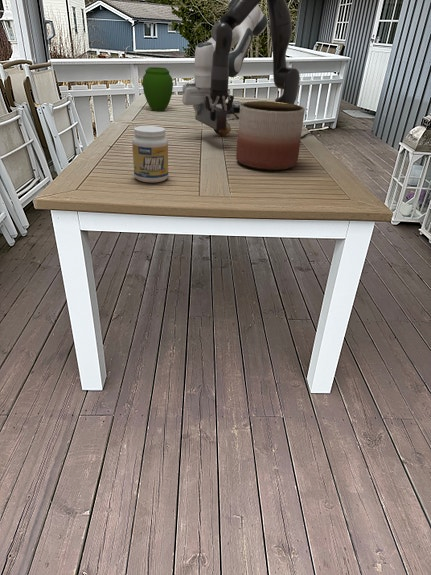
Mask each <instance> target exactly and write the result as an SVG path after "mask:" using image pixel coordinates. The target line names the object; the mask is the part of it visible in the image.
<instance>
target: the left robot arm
mask: <svg viewBox="0 0 431 575" xmlns="http://www.w3.org/2000/svg"><path fill="white" fill-rule="evenodd" d="M235 1H236V0H229V1H228V3H227V8H228V10H229V9H230V7H231V6H232V5H233V4H234V3H235ZM268 23H269V19H268V17H267V16H266V14H264V13H263V11H262V10H261V7H260V6H259V3H258V4H257V6H256V7H255V8H254V9H253V10H252V11H251V13H250V14H249V15H248V16H247V17H246V19H245V20H244V21H243V22H242V23H241V24H240V25H239V26H236V27H235V28H234V29H233V30H232V33H233V37H232V44H231V49H233V48H234V46H235V45H236V46H235V48H234V49H233V50H230V52H229V66H228V67H229V78H235V77H236V76H237V75H238V74H239V73H240V71H241V69H242V66H243V62H244V60H245V59H246V58H245V57H246V56H247V53H248V51H249V49H250V47H251V45H252V43H253V38H254V37H258V36H259V35H261V34H262V33H264V32H265V30H266V28H267V26H268ZM215 46H216V41H214V40H213V38H212V36H211V37H210V38H209V39H208V40H207V41H205V42H200V43H198V44H196V46H195V50H194V51H195V52H194V75H193V77H194V79H193V82H186V83H184V84H183V85H182V98H181V100H182V104H183V105H184V106H192V108H193V111H194V116H195V115H199V111H197V109H196V107H197V105H200V104H205V101H204V95H206V96H207V95H210V92H211V70H212V55H213V51H214V50H215ZM211 102H212V99H211V98H210V100H209V103H210V104H211ZM216 107H219V108H221V109H222V106H221V104H217V106H216ZM226 107H227V106H226ZM232 115H234V117H235V118H236V119H237V120H239V116H238V115H237V114H236V112H234V109H232V108H231V110H228V111H227V117H226V121H231V120H234V117H233V116H232Z"/></svg>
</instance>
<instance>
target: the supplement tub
mask: <svg viewBox="0 0 431 575" xmlns="http://www.w3.org/2000/svg"><path fill="white" fill-rule="evenodd" d="M133 130H134V131H133V134H134V136H133V137H132V140H131V144H132V160H133V176H134V178H135V179H136V180H138V181H139V182H143V183H161V182H164V181H166V180H167V179H168V177H169V141H168V138H167V137H166V128H164V127H162V126H157V125H139V126H136V127H134V128H133Z"/></svg>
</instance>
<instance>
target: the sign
mask: <svg viewBox="0 0 431 575" xmlns="http://www.w3.org/2000/svg"><path fill="white" fill-rule="evenodd" d="M227 103H228V101H227V102H226V106H227ZM241 103H244V101H243V102H242V101H239V100H233V103H232V107H231V108H232V109H234V113H238V114H240V104H241Z"/></svg>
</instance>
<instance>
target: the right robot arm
mask: <svg viewBox="0 0 431 575" xmlns="http://www.w3.org/2000/svg"><path fill="white" fill-rule="evenodd" d="M261 1H262V0H236V1H235V3H234V4H233V5H232V6H231V7H230V9H229V8H228V10H227V11H226V12H225V13H224V14H223V15H222V16H221V17H220V18H219V19H218V20H217V21H215V23H214V24H213V25H212V28H211V31H210V36H211V37H212V38H213V40H214V41H216V46H215V50H214V51H213V55H212V70H211V92H210V95H207V96H206V95H204V101H205V106H206V110H209V111H210V119H211V121H214V110H215V107H216V106H217V104H221V106H222V109H224V110H226V111H228V110H231V107H232V103H233V101H234V99H235V96H234V95H232V94H229V92H228V91H229V81H230V80H229V78H230V77H229V67H228V66H229V52H231V50H232V48H231V44H232V37H233V33H232V30H233V29H234V28H235V27H236V26H239V25H240V24H241V23H242V22H243V21H244V20H245V19H246V17H247V16H248V15H249V14H250V13H251V11H252V10H253V9H254V8H255V7H256V6H257V4H258V5H259V4H260V3H261ZM266 4H267V14H268V23H269V33H270V40H271V51H272V52H271V53H272V74H273V75H272V77H273V84H274V86H275V87H276V88H277V89H279V90H282V91H283V92H282V94H281V95H280V96H278V97H276V98H275V99H274V102H282V103H289V104H295V103H296V100H297V97H298V91H299V86H300V82H301V75H300V70H298V69H297V68H294V67H289V66H287V51H288V48H289V46H290V42H291V40H292V37H293V36H292V35H293V25H292V24H293V23H292V15H291V12H290V8H289V5H288V4H287V1H286V0H266ZM210 98H211V99H212V102H211V107H210V103H209V100H210ZM226 101H227V107H226ZM309 132H310V131H309ZM309 132H307V133H304V134H303V135H301V139H304V138H305V137H306V136H308V135H311V136H314V133H313V132H312V131H311V132H310V133H309Z"/></svg>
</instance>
